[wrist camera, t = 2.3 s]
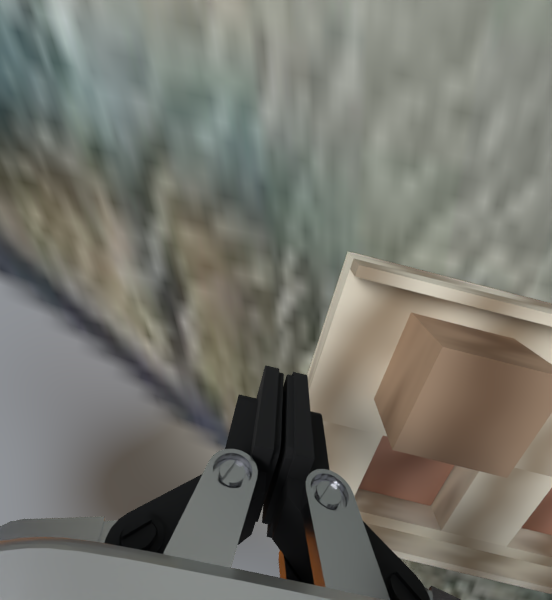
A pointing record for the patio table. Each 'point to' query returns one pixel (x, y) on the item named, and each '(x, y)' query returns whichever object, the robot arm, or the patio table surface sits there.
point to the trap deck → (417, 470)
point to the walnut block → (463, 396)
